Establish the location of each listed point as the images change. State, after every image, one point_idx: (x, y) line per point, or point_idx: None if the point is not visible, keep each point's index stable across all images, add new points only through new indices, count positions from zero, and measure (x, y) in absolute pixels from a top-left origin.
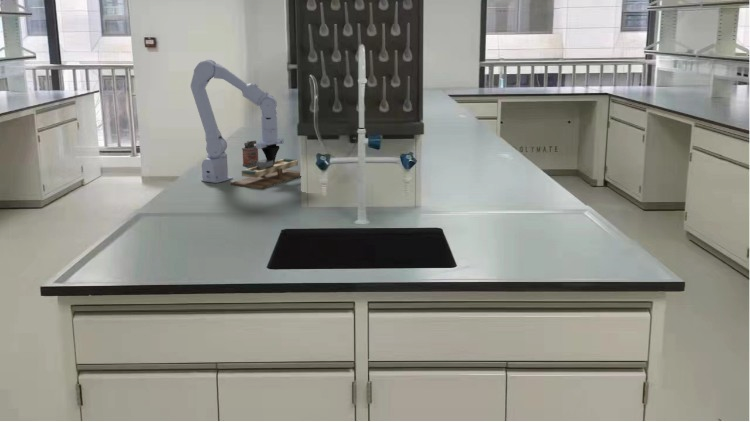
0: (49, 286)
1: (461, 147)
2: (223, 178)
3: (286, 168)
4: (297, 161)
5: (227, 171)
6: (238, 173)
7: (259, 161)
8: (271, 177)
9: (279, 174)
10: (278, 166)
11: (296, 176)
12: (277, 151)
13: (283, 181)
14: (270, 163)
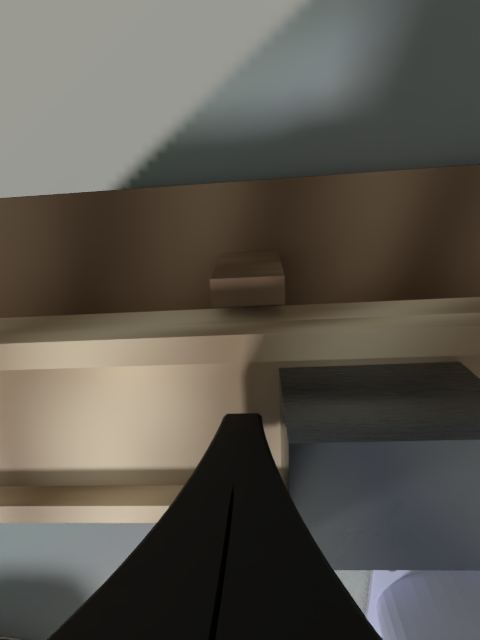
0: None
1: None
2: (474, 579)
3: (78, 316)
4: None
5: (443, 630)
6: None
7: (474, 547)
8: None
9: (275, 261)
10: (237, 330)
11: (61, 194)
12: (96, 603)
13: (299, 177)
14: (367, 412)
